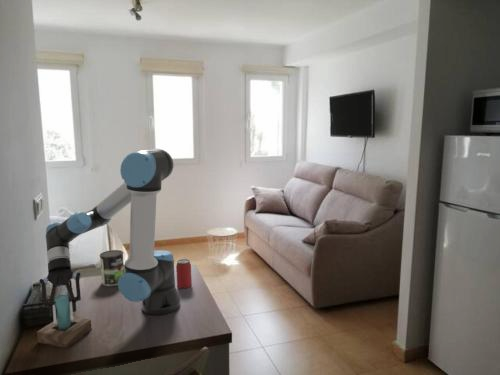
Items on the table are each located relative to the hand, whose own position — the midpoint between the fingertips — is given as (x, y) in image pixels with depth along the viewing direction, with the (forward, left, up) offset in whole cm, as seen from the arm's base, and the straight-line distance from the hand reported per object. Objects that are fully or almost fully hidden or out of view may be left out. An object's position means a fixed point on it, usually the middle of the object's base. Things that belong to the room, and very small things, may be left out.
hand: (64, 322), depth 127 cm
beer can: (-18, -52, -7) cm, 55 cm away
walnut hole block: (+3, -3, -7) cm, 8 cm away
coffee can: (+17, -47, -7) cm, 50 cm away
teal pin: (+3, -3, -6) cm, 7 cm away
